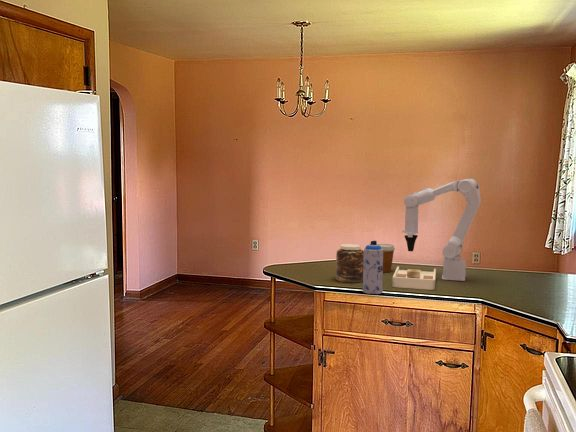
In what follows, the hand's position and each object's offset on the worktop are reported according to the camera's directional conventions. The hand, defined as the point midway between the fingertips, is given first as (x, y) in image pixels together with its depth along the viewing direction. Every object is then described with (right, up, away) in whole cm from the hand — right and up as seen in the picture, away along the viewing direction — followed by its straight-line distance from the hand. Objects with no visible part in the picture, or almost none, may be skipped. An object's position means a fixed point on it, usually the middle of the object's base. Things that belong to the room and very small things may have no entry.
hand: (410, 251), depth 241 cm
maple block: (-4, -10, -24) cm, 26 cm away
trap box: (-2, -12, -16) cm, 20 cm away
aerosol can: (-22, -14, -33) cm, 42 cm away
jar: (-29, -12, -12) cm, 34 cm away
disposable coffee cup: (-11, -10, +7) cm, 16 cm away
